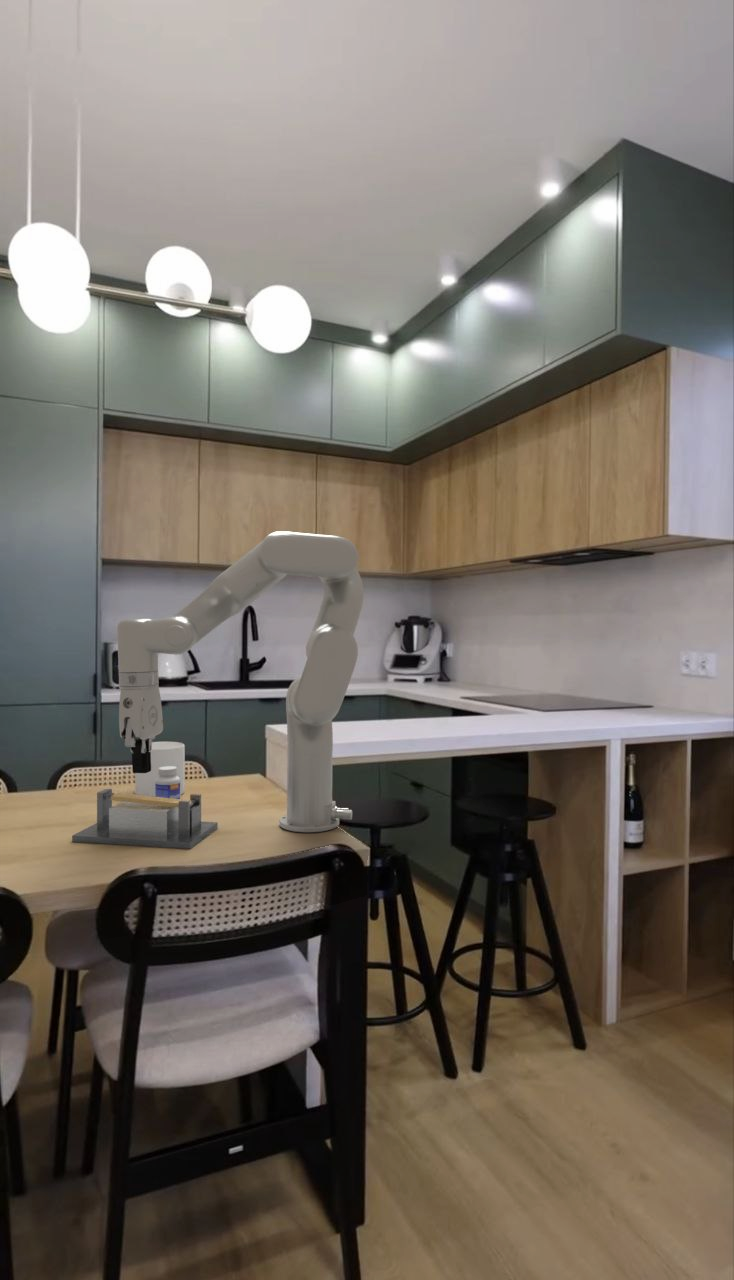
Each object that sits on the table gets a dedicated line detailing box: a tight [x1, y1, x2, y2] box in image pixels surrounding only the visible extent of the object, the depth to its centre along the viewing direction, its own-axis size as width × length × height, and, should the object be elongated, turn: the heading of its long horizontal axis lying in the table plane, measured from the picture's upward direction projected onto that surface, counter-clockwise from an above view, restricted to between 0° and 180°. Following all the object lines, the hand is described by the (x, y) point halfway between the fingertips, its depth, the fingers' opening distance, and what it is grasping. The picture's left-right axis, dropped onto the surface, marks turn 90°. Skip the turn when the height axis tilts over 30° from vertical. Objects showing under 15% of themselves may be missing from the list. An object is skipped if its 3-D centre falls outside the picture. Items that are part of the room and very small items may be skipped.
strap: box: [111, 792, 196, 807], centre depth 143 cm, size 16×4×1 cm, turn 81°
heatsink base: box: [71, 788, 219, 850], centre depth 143 cm, size 24×14×8 cm, turn 81°
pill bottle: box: [155, 766, 181, 799], centre depth 161 cm, size 5×5×10 cm
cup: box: [134, 741, 186, 796], centre depth 178 cm, size 12×12×12 cm
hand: (141, 772), depth 143 cm, fingers closed
